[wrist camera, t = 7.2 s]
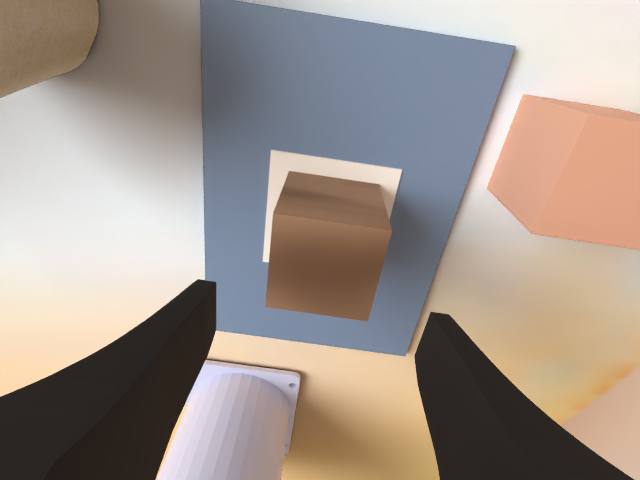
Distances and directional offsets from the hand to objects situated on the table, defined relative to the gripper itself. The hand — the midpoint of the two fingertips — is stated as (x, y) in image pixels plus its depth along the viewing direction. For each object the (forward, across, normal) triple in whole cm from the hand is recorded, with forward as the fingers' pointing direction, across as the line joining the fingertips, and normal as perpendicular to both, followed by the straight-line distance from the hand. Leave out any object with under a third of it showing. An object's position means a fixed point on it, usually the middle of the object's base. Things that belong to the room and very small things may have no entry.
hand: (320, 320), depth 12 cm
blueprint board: (+8, 0, 0) cm, 8 cm away
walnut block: (+8, 0, 0) cm, 8 cm away
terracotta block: (+8, -10, -5) cm, 14 cm away
